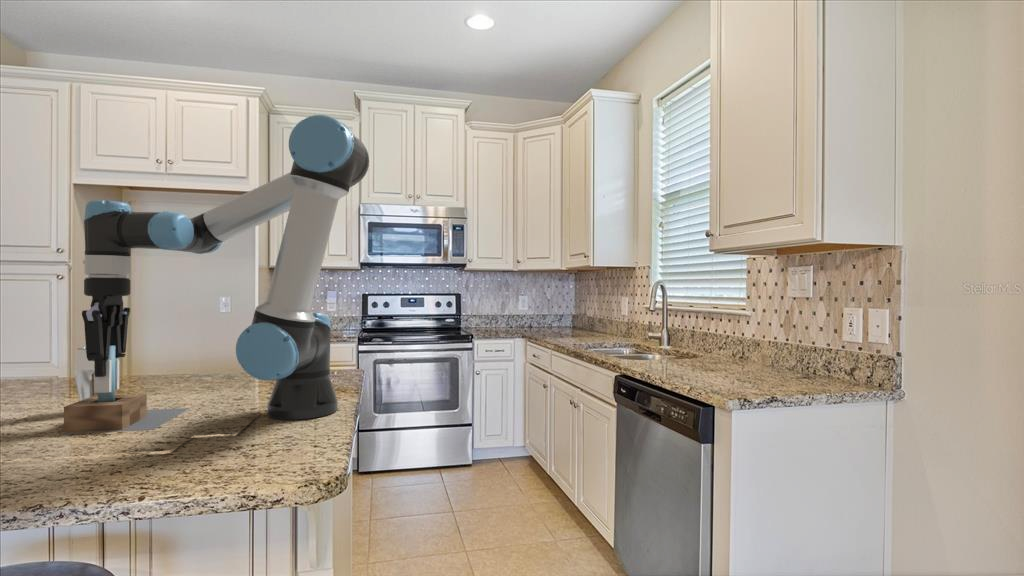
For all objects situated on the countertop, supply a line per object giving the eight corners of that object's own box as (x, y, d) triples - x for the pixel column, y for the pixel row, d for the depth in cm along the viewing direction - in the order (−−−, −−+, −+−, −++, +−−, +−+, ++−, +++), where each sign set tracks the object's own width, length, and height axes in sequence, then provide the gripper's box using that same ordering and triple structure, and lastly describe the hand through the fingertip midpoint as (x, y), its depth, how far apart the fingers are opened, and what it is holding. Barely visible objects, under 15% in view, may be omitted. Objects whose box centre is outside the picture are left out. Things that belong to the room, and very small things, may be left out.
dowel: (117, 412, 107) (118, 345, 107) (110, 415, 105) (110, 347, 105) (102, 412, 107) (102, 345, 107) (94, 415, 104) (95, 347, 104)
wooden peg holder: (146, 416, 112) (146, 394, 112) (122, 429, 102) (122, 404, 102) (93, 419, 110) (93, 395, 110) (63, 432, 100) (63, 406, 100)
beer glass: (96, 418, 113) (96, 350, 113) (65, 417, 113) (65, 349, 113) (121, 410, 120) (121, 346, 120) (91, 409, 120) (91, 345, 120)
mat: (189, 410, 120) (190, 408, 120) (153, 432, 102) (153, 429, 102) (111, 413, 116) (111, 411, 116) (60, 437, 99) (60, 433, 99)
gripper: (107, 276, 112) (106, 384, 112) (62, 276, 97) (61, 399, 97) (146, 277, 114) (145, 383, 114) (107, 276, 99) (106, 398, 99)
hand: (106, 390), depth 106 cm, fingers closed on dowel, 2 cm apart
